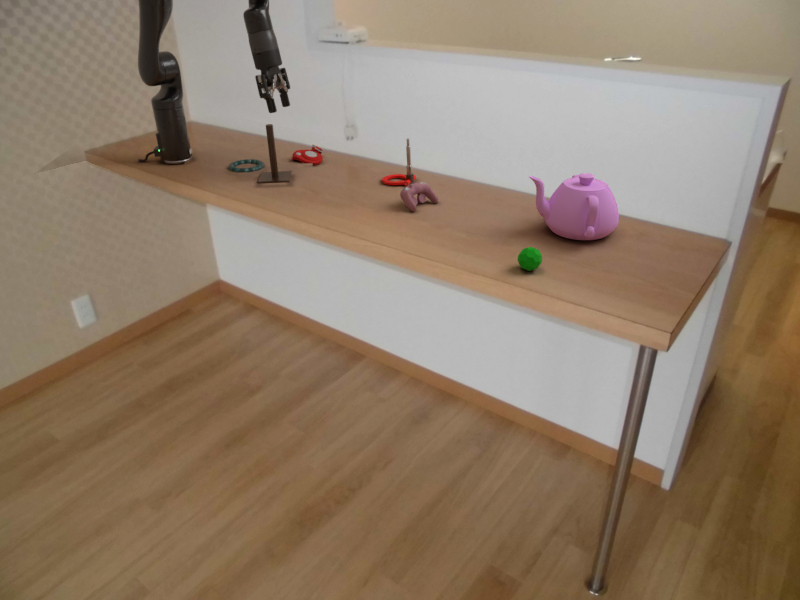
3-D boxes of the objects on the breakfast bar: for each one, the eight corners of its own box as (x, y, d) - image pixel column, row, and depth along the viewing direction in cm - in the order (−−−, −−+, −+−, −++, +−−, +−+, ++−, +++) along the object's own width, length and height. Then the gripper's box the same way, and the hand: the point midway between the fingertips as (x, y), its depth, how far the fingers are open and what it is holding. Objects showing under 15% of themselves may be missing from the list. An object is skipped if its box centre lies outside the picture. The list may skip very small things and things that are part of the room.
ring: (226, 176, 187) (225, 169, 186) (231, 165, 197) (230, 159, 196) (262, 174, 188) (262, 168, 187) (266, 164, 197) (265, 157, 196)
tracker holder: (324, 162, 194) (292, 156, 192) (322, 174, 197) (290, 168, 195) (324, 143, 203) (294, 137, 201) (322, 155, 206) (292, 149, 204)
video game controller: (429, 205, 168) (421, 180, 166) (440, 201, 164) (432, 176, 163) (403, 215, 162) (394, 189, 160) (414, 211, 158) (405, 185, 157)
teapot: (517, 213, 157) (522, 160, 151) (603, 213, 157) (611, 160, 150) (530, 249, 138) (536, 191, 131) (628, 250, 137) (639, 191, 131)
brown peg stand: (258, 186, 178) (251, 129, 170) (262, 176, 186) (255, 121, 178) (289, 185, 179) (283, 128, 171) (292, 175, 187) (286, 120, 178)
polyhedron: (512, 269, 130) (514, 248, 128) (525, 261, 133) (527, 241, 131) (532, 276, 127) (534, 255, 125) (545, 269, 130) (547, 248, 127)
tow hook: (377, 185, 179) (407, 187, 175) (374, 141, 173) (405, 142, 169) (389, 177, 186) (417, 179, 182) (386, 134, 179) (415, 135, 176)
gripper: (265, 48, 176) (279, 106, 183) (240, 54, 164) (256, 116, 171) (288, 44, 173) (302, 103, 180) (264, 50, 161) (280, 113, 168)
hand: (279, 109), depth 176 cm, fingers open, 8 cm apart
